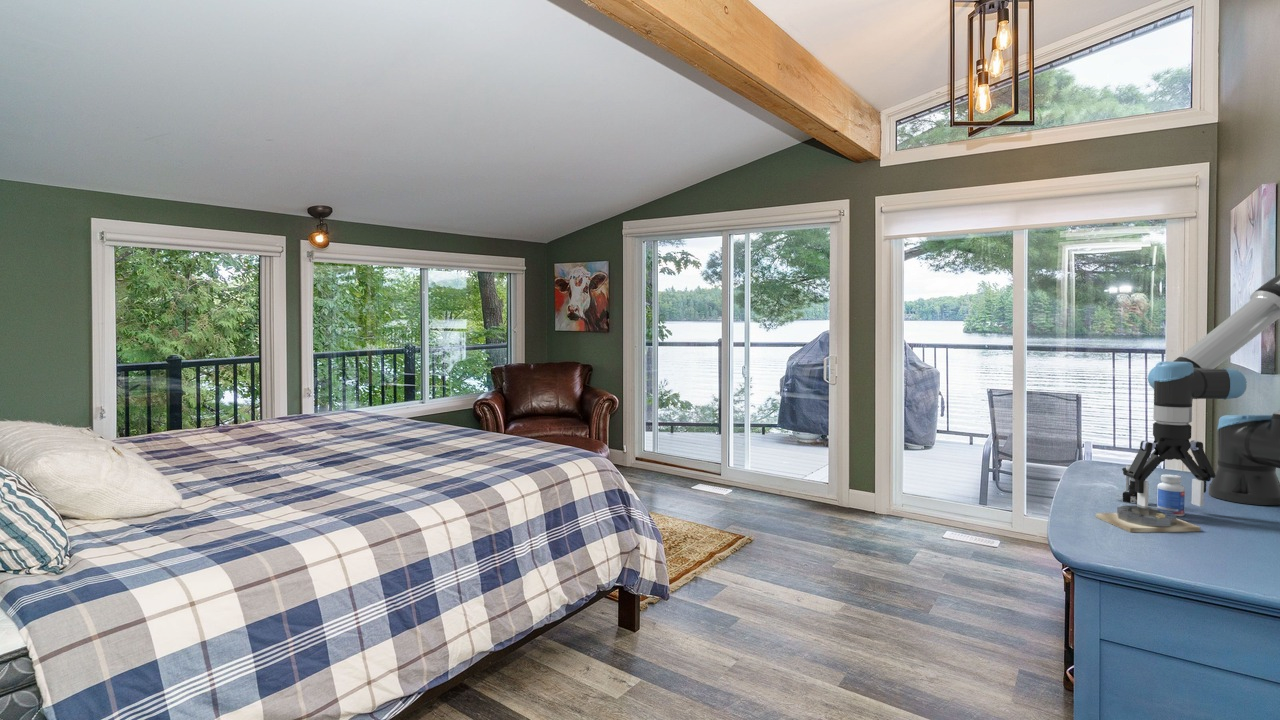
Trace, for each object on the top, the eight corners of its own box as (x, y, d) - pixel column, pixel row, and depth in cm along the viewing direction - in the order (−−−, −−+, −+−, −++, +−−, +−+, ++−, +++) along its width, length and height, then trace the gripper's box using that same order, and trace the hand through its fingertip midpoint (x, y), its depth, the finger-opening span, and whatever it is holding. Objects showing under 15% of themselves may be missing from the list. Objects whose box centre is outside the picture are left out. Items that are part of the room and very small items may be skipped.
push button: (1114, 502, 176) (1114, 465, 175) (1117, 498, 179) (1118, 462, 179) (1144, 506, 171) (1145, 469, 170) (1147, 502, 175) (1148, 465, 174)
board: (1160, 516, 162) (1160, 512, 162) (1200, 531, 150) (1200, 527, 150) (1095, 517, 163) (1095, 513, 163) (1130, 532, 151) (1130, 528, 151)
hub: (1151, 513, 162) (1152, 502, 162) (1187, 526, 151) (1188, 514, 151) (1107, 513, 162) (1107, 502, 162) (1139, 527, 151) (1139, 515, 151)
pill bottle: (1186, 518, 160) (1186, 479, 160) (1158, 515, 163) (1159, 477, 163) (1182, 512, 165) (1182, 474, 164) (1155, 509, 168) (1156, 472, 167)
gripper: (1210, 419, 166) (1207, 501, 167) (1111, 420, 167) (1109, 501, 168) (1236, 424, 159) (1233, 509, 160) (1132, 425, 160) (1130, 509, 161)
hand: (1169, 505), depth 164 cm, fingers open, 13 cm apart
